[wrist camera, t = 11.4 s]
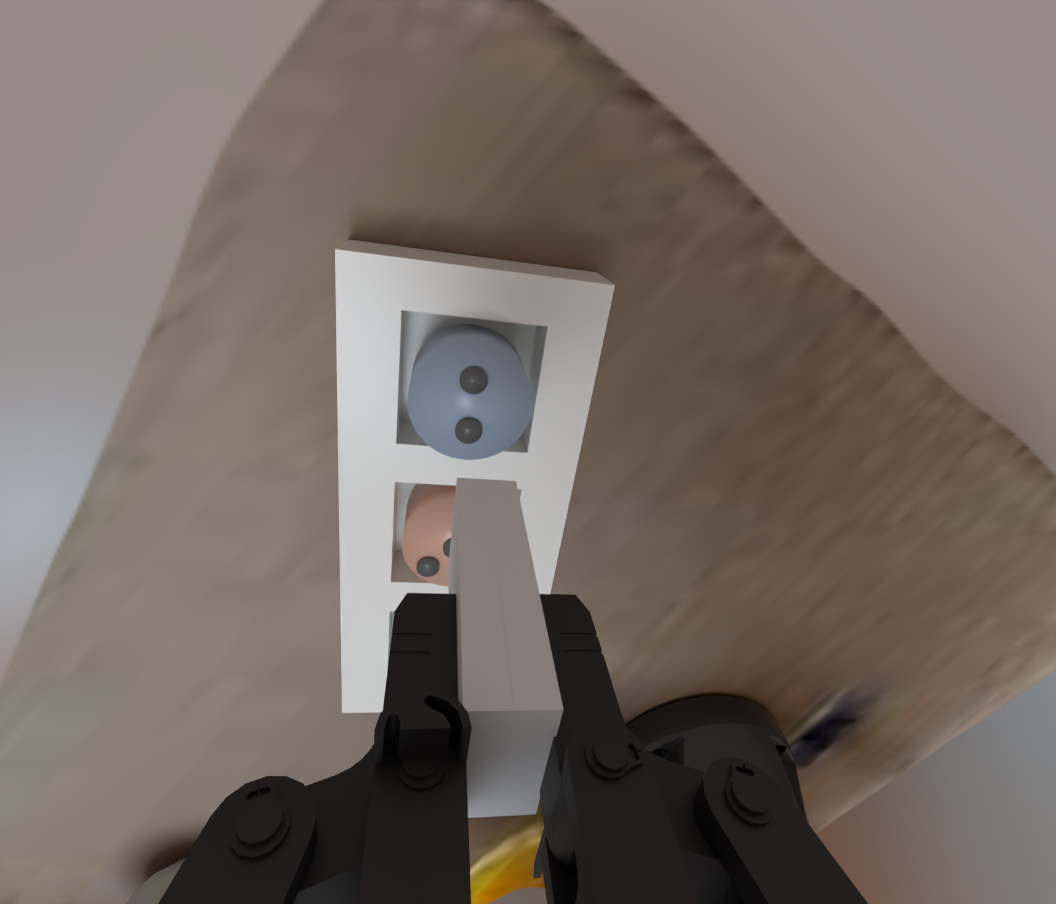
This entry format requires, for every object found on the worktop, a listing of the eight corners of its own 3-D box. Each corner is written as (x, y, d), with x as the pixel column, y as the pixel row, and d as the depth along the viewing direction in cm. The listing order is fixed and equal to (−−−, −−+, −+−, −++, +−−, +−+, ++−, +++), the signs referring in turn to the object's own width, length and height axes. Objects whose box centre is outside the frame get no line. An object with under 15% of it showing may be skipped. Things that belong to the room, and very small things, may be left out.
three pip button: (506, 474, 28) (512, 508, 26) (494, 551, 31) (499, 590, 28) (408, 468, 28) (403, 503, 25) (404, 548, 30) (399, 588, 27)
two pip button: (531, 330, 24) (542, 352, 21) (516, 433, 26) (524, 465, 23) (414, 317, 23) (410, 339, 20) (409, 425, 25) (404, 458, 22)
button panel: (597, 272, 25) (614, 285, 22) (520, 670, 37) (525, 710, 34) (348, 239, 23) (335, 249, 20) (350, 671, 35) (342, 712, 32)
